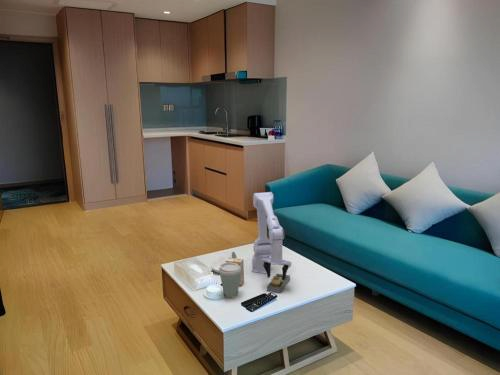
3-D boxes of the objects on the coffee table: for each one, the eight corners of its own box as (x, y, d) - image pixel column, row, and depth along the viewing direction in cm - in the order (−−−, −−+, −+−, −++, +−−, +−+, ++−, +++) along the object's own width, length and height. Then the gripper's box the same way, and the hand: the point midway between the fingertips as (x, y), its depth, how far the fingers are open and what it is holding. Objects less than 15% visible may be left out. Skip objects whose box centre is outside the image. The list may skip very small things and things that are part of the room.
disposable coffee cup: (244, 290, 189) (243, 262, 186) (238, 301, 179) (237, 271, 176) (223, 288, 191) (222, 260, 188) (216, 299, 181) (215, 269, 178)
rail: (266, 291, 188) (266, 286, 187) (277, 277, 202) (277, 273, 202) (280, 293, 185) (280, 288, 185) (289, 279, 200) (289, 275, 199)
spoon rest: (228, 277, 205) (228, 264, 204) (208, 274, 208) (207, 262, 207) (242, 260, 227) (242, 248, 226) (223, 258, 231) (223, 247, 229)
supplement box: (244, 282, 198) (244, 258, 195) (241, 286, 193) (240, 262, 191) (229, 280, 200) (228, 256, 198) (226, 284, 196) (225, 260, 193)
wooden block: (271, 289, 190) (271, 278, 189) (274, 286, 193) (273, 275, 192) (279, 290, 188) (279, 279, 187) (281, 287, 192) (281, 276, 191)
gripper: (259, 253, 186) (259, 279, 189) (288, 257, 181) (288, 283, 183) (264, 248, 192) (264, 273, 195) (292, 251, 187) (292, 277, 190)
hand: (276, 278), depth 190 cm, fingers open, 7 cm apart
